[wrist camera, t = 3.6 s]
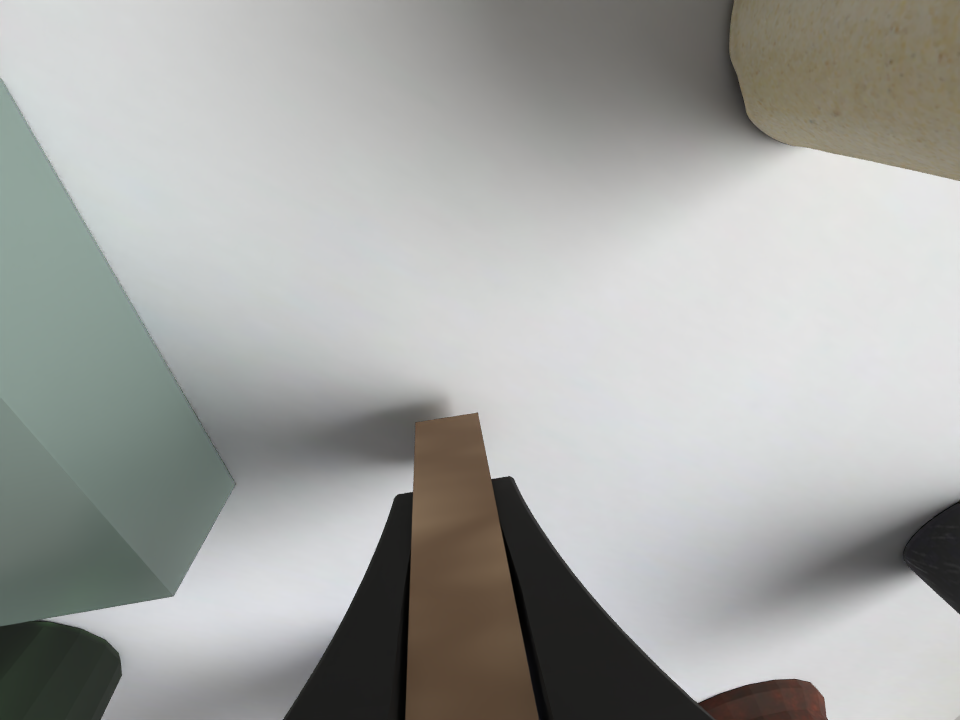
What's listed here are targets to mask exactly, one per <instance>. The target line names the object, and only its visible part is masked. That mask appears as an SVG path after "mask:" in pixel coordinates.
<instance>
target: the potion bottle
mask: <svg viewBox="0 0 960 720" xmlns="http://www.w3.org/2000/svg"><path fill="white" fill-rule="evenodd" d="M121 676H122V672H121V661H120V657H119V653H118V652H117V651H116V650H115V649H114V648H113V647H112V646H111V645H110V644H109V643H108V642H107V641H106V640H104V639H102V638H100V637H98V636H95V635H93V634H91V633H89V632H87V631H85V630H82V629H79V628H74V627H70V626H65V625H61V624H57V623H52V622H41V621H28V622H22V623H17V624H11V625H5V626H0V720H101V718H102V715H103V713H104V711H105V709H106V707H107V705H108V703H109V701H110V699H111V697H112V695H113V693H114V690H115V688H116V686H117V684H118V682H119V680H120V678H121Z"/></svg>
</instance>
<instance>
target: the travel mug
mask: <svg viewBox="0 0 960 720" xmlns="http://www.w3.org/2000/svg"><path fill="white" fill-rule="evenodd" d="M904 561H905V562H906V564H907V565H908V566H909V567H910V568H911V569H912V570H913V571H914V572H915V573H916V574H917V575H918V576H919V577H920V578H921V579H922V580H923V581H924V582H925V583H926V584H927V585H929V586H930V587H931V588H932V589H933V590H934V591H935V592H936V593H937V594H938V595H939V596H940V597H941V598H943V599H944V600H945V601H946V602H947V603H948V604H949V605H950V606H951V607H952V608H953V609H955V610H956V611H957V612H958V613H959V614H960V503H958V504H956V505H954V506H952V507H950V508H949V509H947V510H945V511H944V512H942V513H941V514H939V515H937V516H936V517H935V518H933V519H932V520H931V521H929V522H928V523H927V524H926V525H924V526H923V527H922V528H921V529H920V530H919V531H918V532H917V533H916V534H915V535H914V536H913V537H912V539H911V540H910V541H909V543H908V544H907V546H906V548H905V551H904Z"/></svg>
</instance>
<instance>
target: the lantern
mask: <svg viewBox="0 0 960 720" xmlns="http://www.w3.org/2000/svg"><path fill="white" fill-rule="evenodd" d="M699 705H700V706H701V707H702V708H703V709H704V710H705V711H707V712H708V713H709V714H710V715H711V716H712V717H713V718H714V719H715V720H828V719H827V717H826V709H825V701H824V697H823V696H822V695H821V693H820V692H819V691H818V690H817V689H816V688H815V687H814V686H813V685H812V684H811V683H810V682H806V681H801V680H797V679H790V680H772V681H767V682H762V683H756V684H751V685H747V686H744V687H740V688H737V689H734V690H731V691H728V692H725V693H722V694H719V695H717V696H715V697H712V698H710V699H708V700H706V701H703V702H701V703H699Z"/></svg>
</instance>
